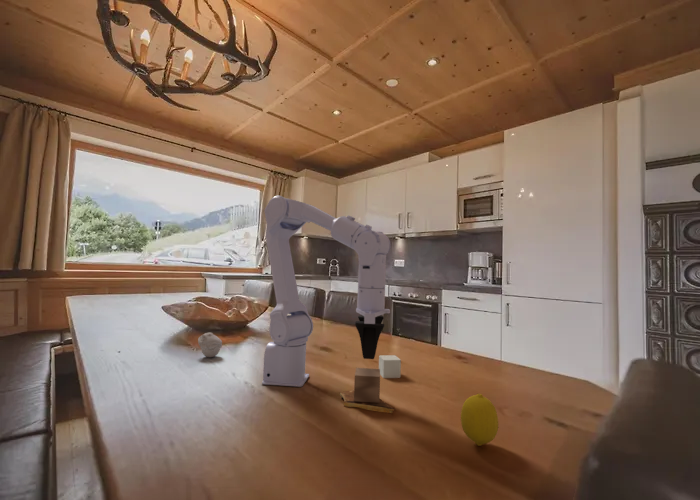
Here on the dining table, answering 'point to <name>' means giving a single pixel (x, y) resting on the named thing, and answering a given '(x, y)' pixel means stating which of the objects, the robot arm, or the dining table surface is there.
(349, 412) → the dining table surface
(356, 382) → the walnut block
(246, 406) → the dining table surface
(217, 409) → the dining table surface
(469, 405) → the lemon
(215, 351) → the round grey stone
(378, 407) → the shard
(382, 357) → the white cube
